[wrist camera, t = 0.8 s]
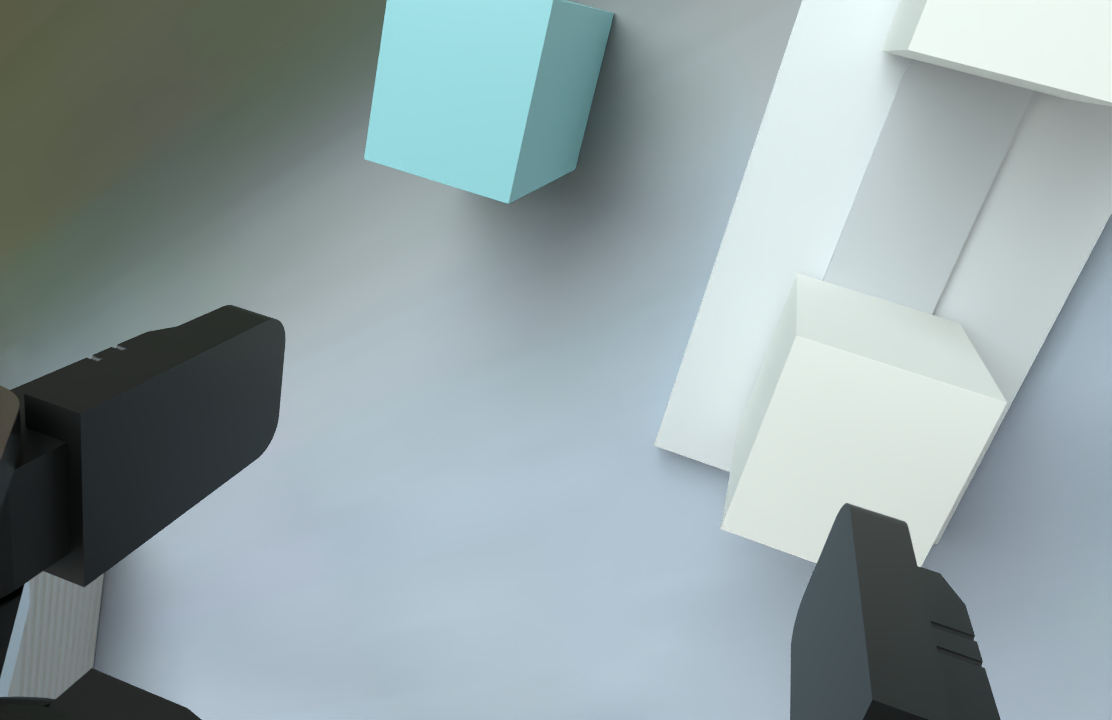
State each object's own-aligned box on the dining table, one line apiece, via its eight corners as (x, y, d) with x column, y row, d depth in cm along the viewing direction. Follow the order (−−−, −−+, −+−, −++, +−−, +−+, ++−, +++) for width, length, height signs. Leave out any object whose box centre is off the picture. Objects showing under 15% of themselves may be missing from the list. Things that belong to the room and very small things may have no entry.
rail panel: (893, -271, 26) (937, -423, 18) (1305, -190, 24) (1570, -317, 16) (658, 433, 36) (616, 545, 28) (933, 529, 34) (975, 679, 26)
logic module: (491, -20, 32) (393, -44, 24) (614, 13, 31) (553, -1, 23) (462, 135, 34) (364, 158, 26) (575, 169, 33) (508, 203, 26)
